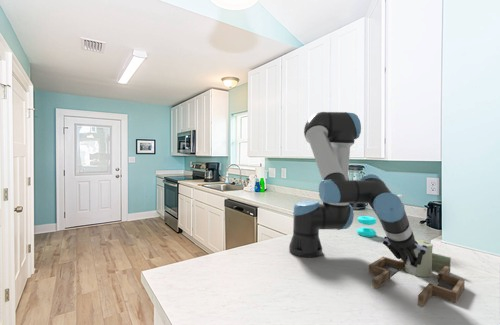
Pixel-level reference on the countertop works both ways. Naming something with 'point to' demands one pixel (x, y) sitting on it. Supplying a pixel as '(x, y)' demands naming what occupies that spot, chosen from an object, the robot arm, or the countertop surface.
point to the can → (423, 260)
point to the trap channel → (444, 289)
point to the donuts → (365, 231)
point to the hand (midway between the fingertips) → (413, 269)
